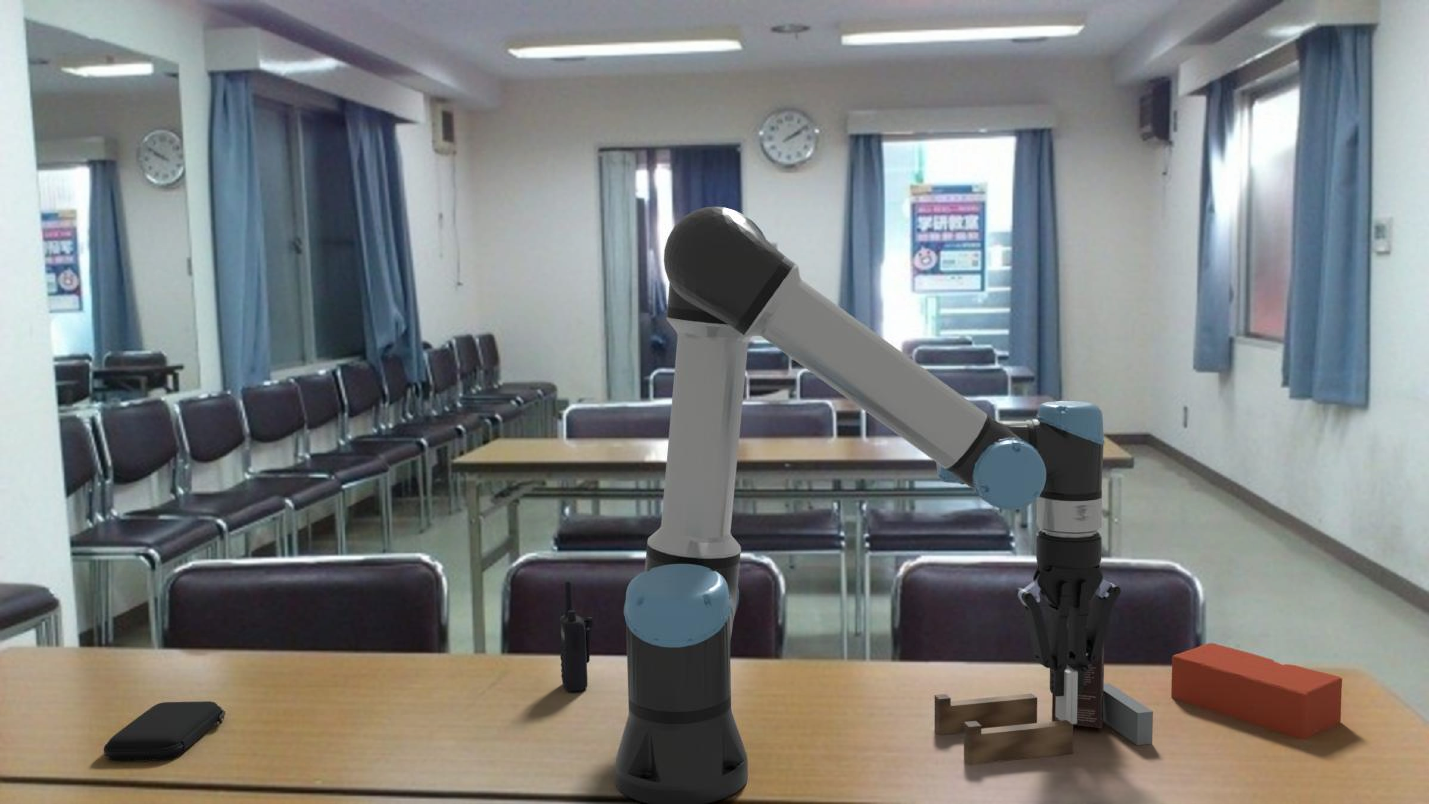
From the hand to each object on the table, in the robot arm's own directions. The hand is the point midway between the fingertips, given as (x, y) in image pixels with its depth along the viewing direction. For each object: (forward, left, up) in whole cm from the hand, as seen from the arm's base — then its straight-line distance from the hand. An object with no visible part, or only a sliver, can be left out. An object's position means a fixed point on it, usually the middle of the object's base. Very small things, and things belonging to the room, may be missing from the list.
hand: (1066, 719), depth 144 cm
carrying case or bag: (-109, +26, -3) cm, 112 cm away
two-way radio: (-57, +32, -2) cm, 65 cm away
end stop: (+8, 0, -2) cm, 8 cm away
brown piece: (-8, 0, -2) cm, 9 cm away
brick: (+27, +2, -2) cm, 27 cm away
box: (+3, +3, -2) cm, 4 cm away
